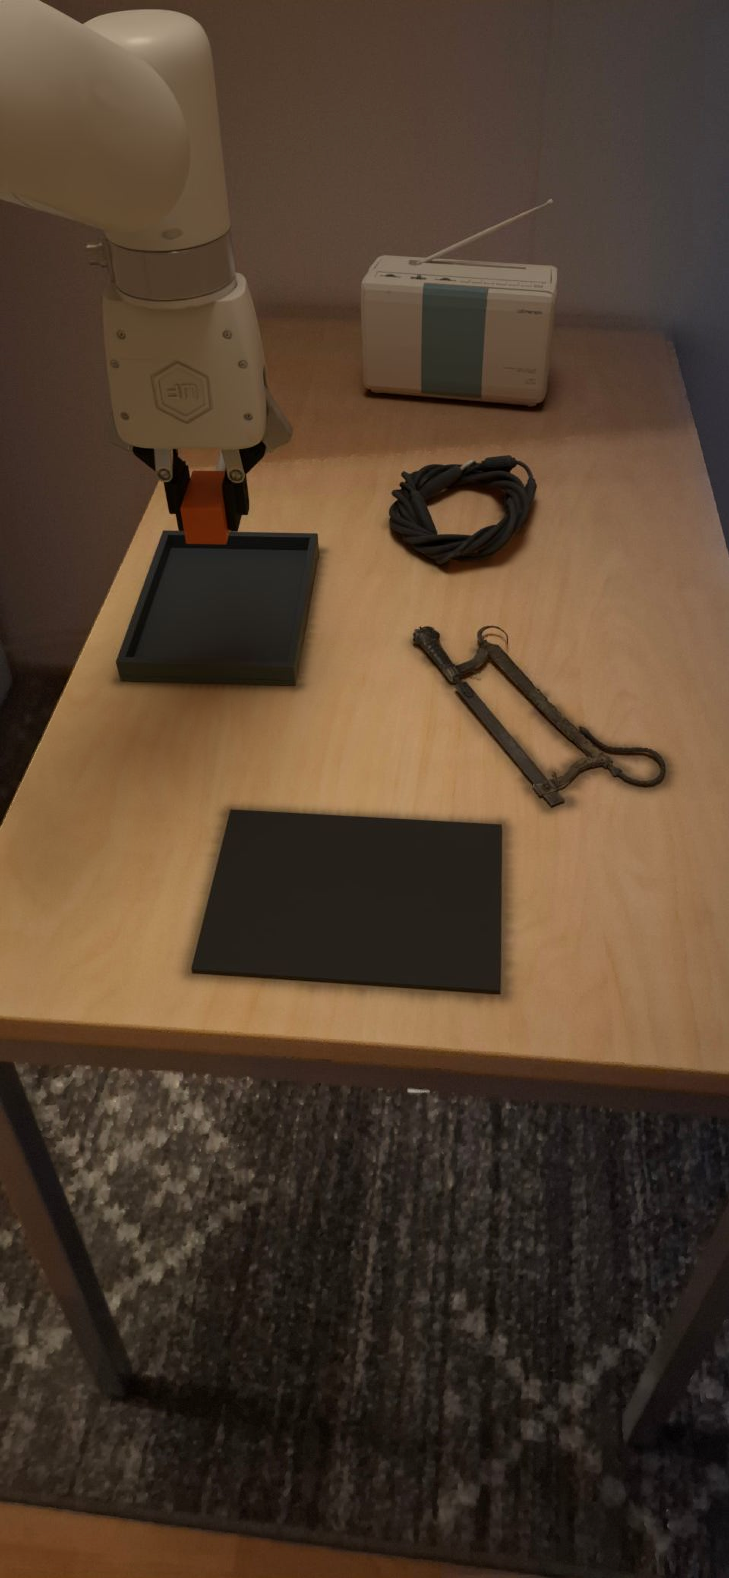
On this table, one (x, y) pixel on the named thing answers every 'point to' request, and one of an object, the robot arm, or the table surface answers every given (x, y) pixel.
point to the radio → (458, 327)
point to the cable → (431, 479)
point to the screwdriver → (205, 507)
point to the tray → (222, 610)
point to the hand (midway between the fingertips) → (211, 519)
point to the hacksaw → (595, 756)
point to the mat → (356, 901)
